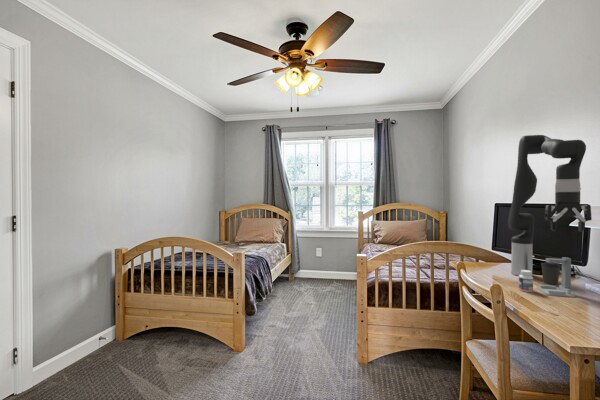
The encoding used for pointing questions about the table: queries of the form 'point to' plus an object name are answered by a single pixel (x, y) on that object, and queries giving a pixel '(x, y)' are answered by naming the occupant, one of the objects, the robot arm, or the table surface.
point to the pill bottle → (526, 281)
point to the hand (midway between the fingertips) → (567, 231)
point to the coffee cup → (550, 273)
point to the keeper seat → (566, 279)
